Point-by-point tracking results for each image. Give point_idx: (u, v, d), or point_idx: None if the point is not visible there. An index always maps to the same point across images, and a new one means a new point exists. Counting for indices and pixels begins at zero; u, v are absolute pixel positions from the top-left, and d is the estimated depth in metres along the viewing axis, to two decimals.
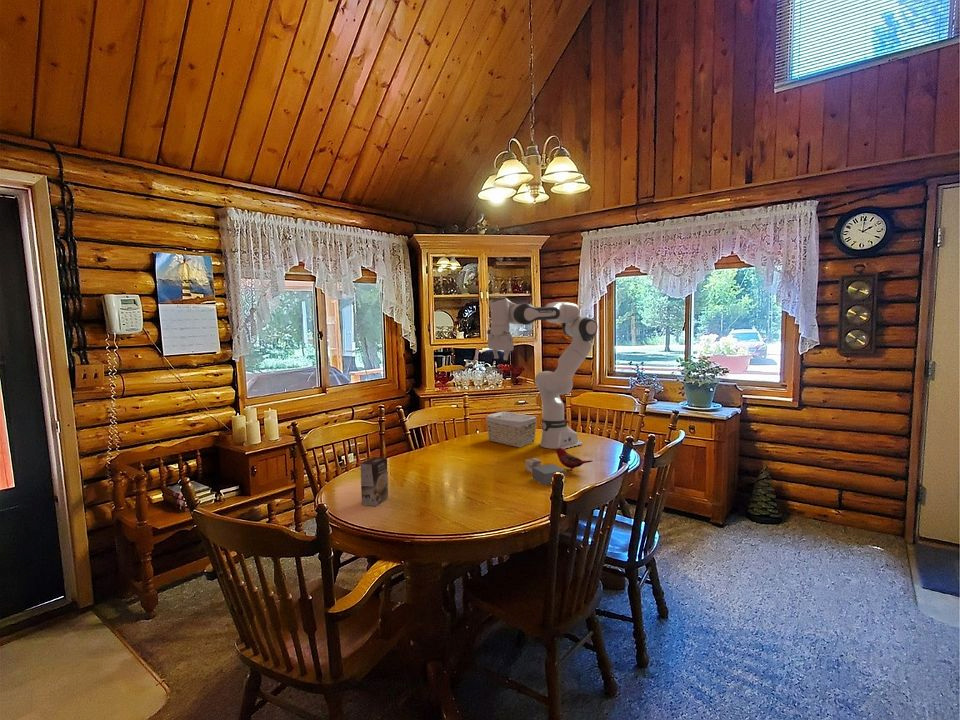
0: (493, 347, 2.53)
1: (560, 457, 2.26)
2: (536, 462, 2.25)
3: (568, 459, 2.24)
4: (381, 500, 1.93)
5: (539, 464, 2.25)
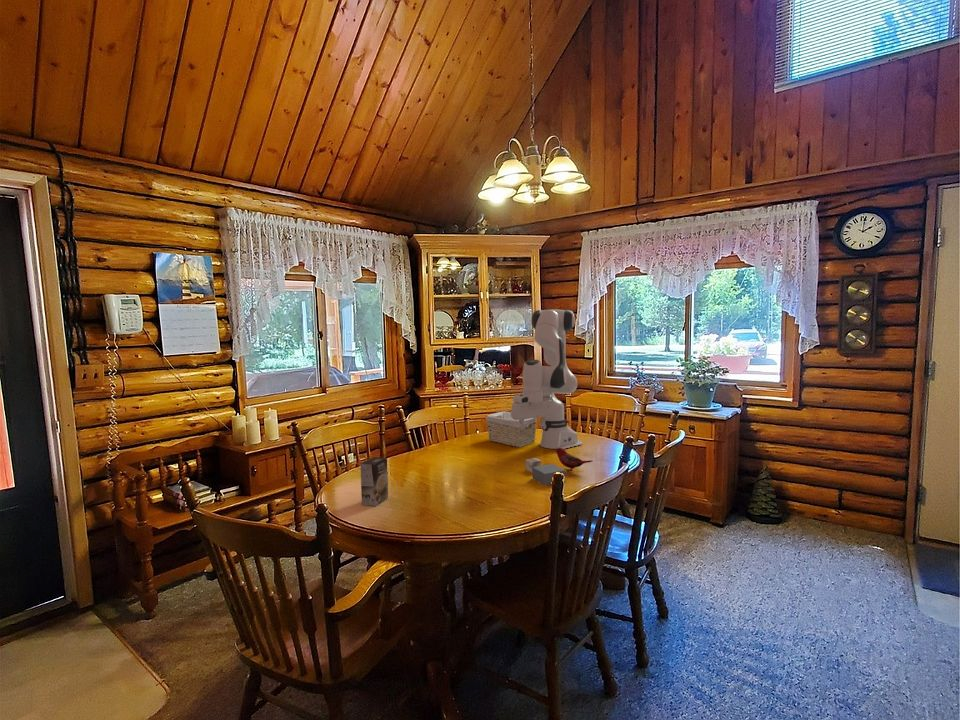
0: (526, 416, 2.21)
1: (560, 457, 2.26)
2: (536, 462, 2.25)
3: (568, 459, 2.24)
4: (381, 500, 1.93)
5: (539, 464, 2.25)
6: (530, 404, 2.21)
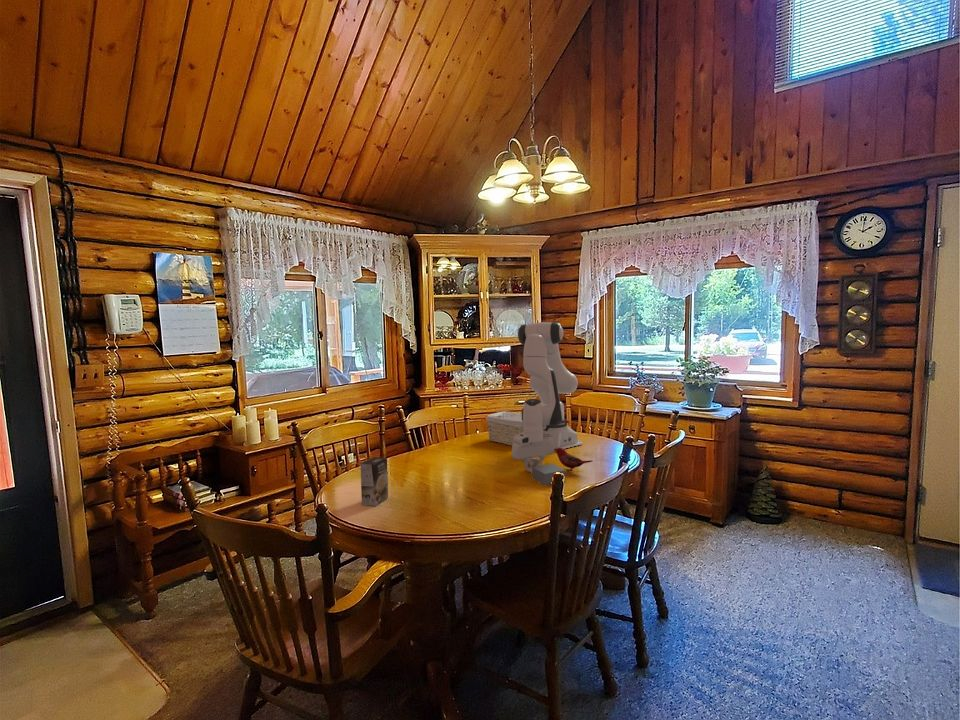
0: (527, 456, 2.23)
1: (560, 457, 2.26)
2: (536, 462, 2.25)
3: (568, 459, 2.24)
4: (381, 500, 1.93)
5: (539, 464, 2.25)
6: (530, 444, 2.23)
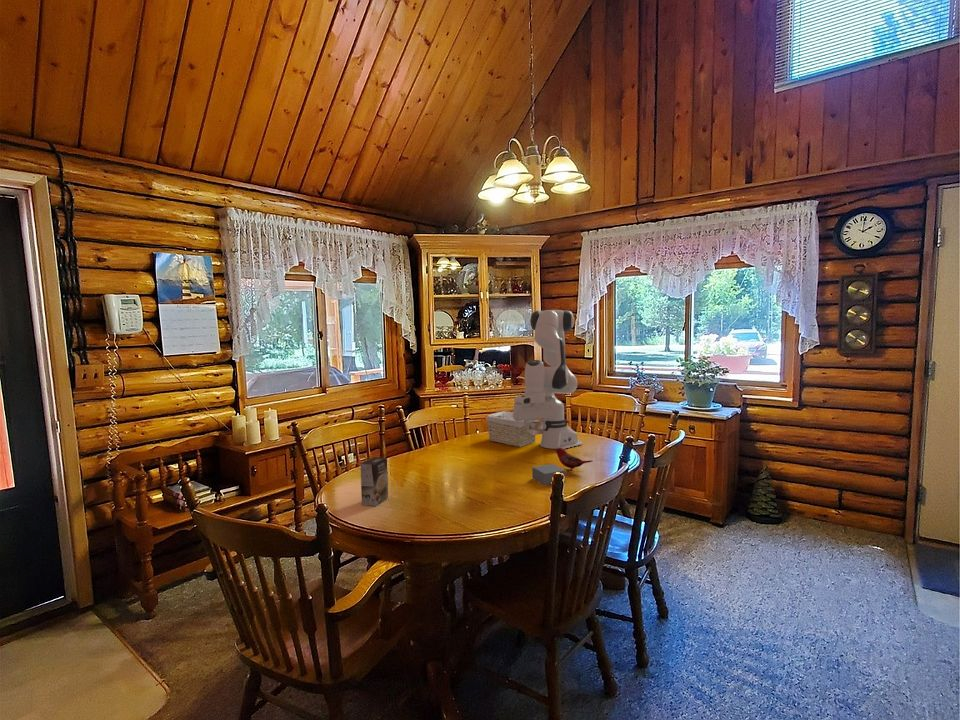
0: (528, 417, 2.19)
1: (560, 457, 2.26)
2: (538, 424, 2.21)
3: (568, 459, 2.24)
4: (381, 500, 1.93)
5: (541, 426, 2.21)
6: (532, 405, 2.19)
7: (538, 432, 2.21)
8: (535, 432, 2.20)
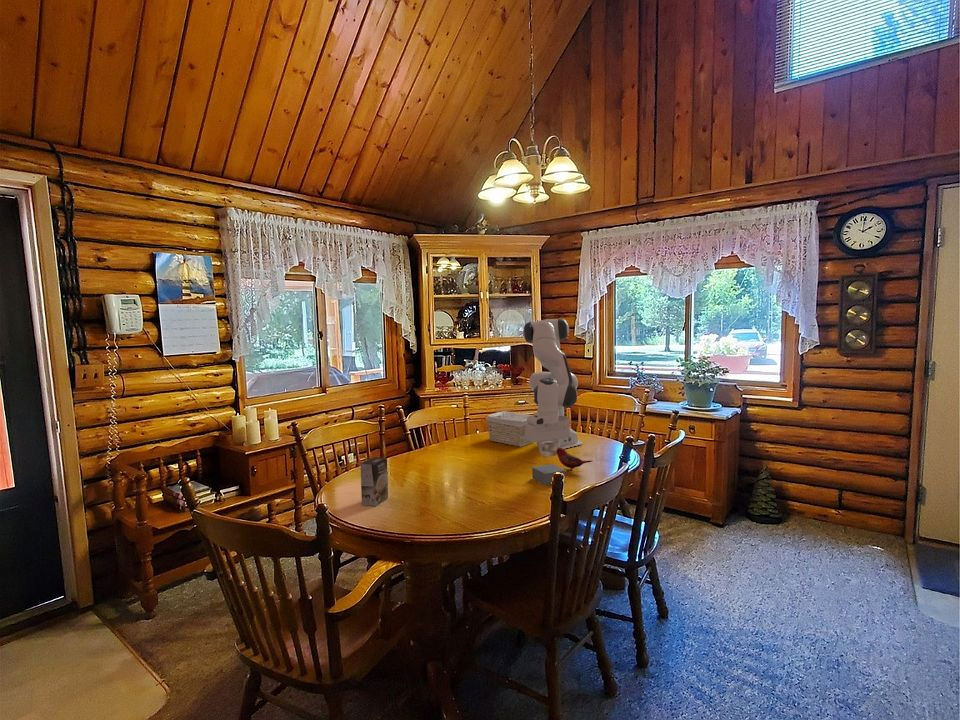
0: (541, 439, 2.09)
1: (560, 457, 2.26)
2: (551, 445, 2.10)
3: (568, 459, 2.24)
4: (381, 500, 1.93)
5: (554, 447, 2.11)
6: (545, 426, 2.09)
7: (551, 454, 2.11)
8: (548, 453, 2.10)
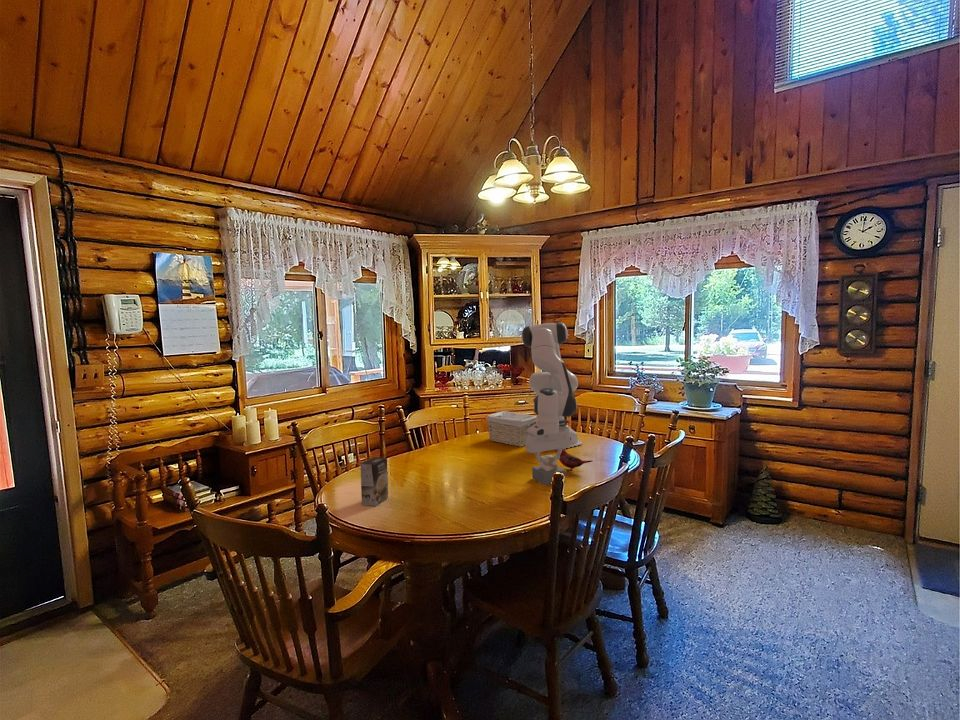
0: (542, 449, 2.09)
1: (560, 457, 2.26)
2: (552, 459, 2.11)
3: (568, 459, 2.24)
4: (381, 500, 1.93)
5: (555, 461, 2.12)
6: (546, 436, 2.09)
7: (552, 468, 2.12)
8: (549, 467, 2.11)
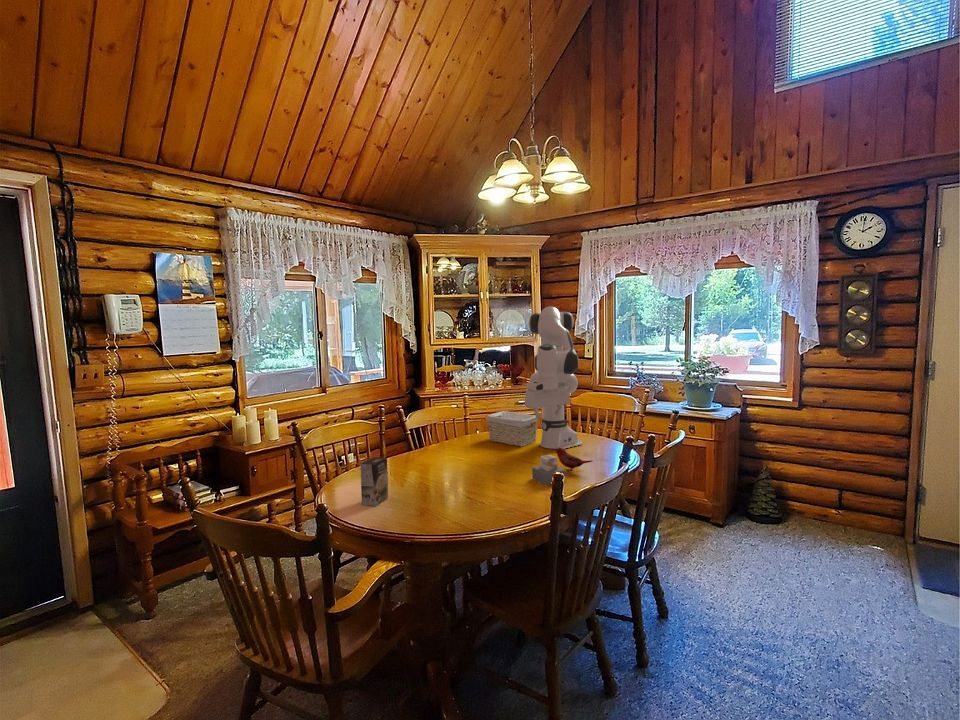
0: (541, 405, 2.08)
1: (560, 457, 2.26)
2: (552, 459, 2.11)
3: (568, 459, 2.24)
4: (381, 500, 1.93)
5: (555, 461, 2.12)
6: (545, 392, 2.08)
7: (552, 468, 2.12)
8: (549, 467, 2.11)
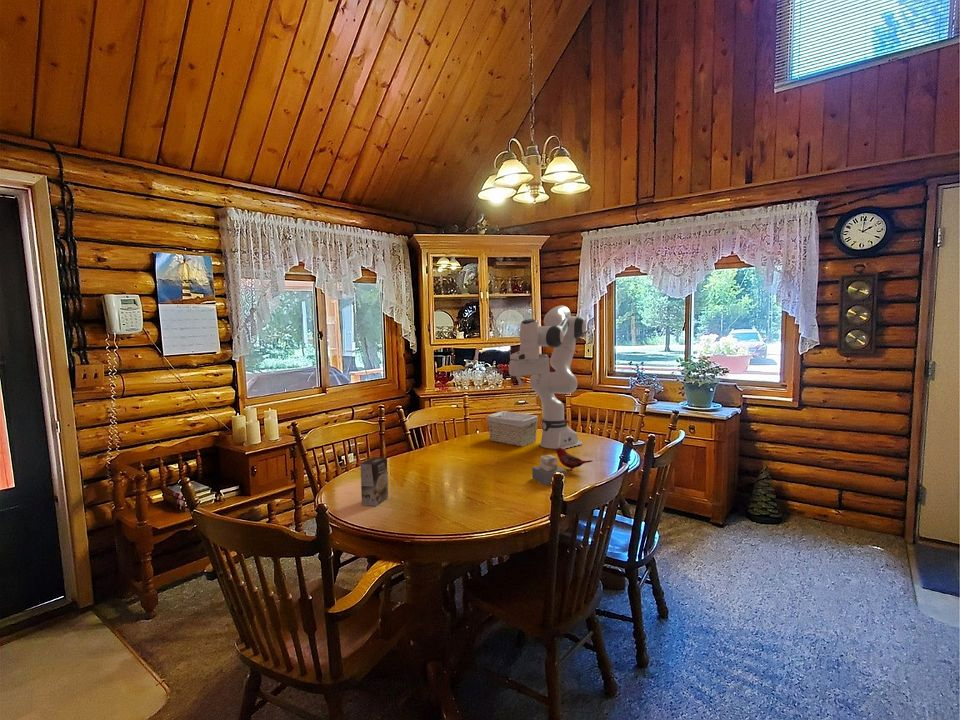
0: (523, 373, 2.32)
1: (560, 457, 2.26)
2: (552, 459, 2.11)
3: (568, 459, 2.24)
4: (381, 500, 1.93)
5: (555, 461, 2.12)
6: (527, 361, 2.32)
7: (552, 468, 2.12)
8: (549, 467, 2.11)
